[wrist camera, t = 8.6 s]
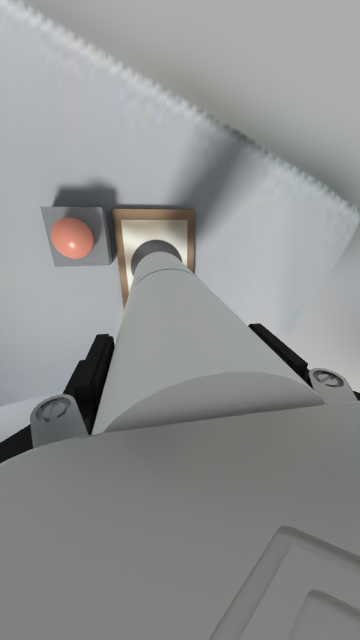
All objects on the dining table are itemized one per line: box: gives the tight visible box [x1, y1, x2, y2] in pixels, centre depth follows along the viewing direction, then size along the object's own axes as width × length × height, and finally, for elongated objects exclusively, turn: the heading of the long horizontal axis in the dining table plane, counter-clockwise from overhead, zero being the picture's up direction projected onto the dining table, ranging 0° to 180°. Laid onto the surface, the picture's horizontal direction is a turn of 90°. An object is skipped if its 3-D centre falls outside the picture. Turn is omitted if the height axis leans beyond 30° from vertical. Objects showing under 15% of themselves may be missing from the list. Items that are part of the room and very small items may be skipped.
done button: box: [51, 217, 94, 259], centre depth 30 cm, size 5×5×4 cm
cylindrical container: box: [92, 252, 325, 435], centre depth 17 cm, size 7×7×25 cm
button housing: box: [41, 207, 113, 267], centre depth 32 cm, size 8×8×4 cm
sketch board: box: [112, 209, 195, 311], centre depth 37 cm, size 18×13×1 cm
